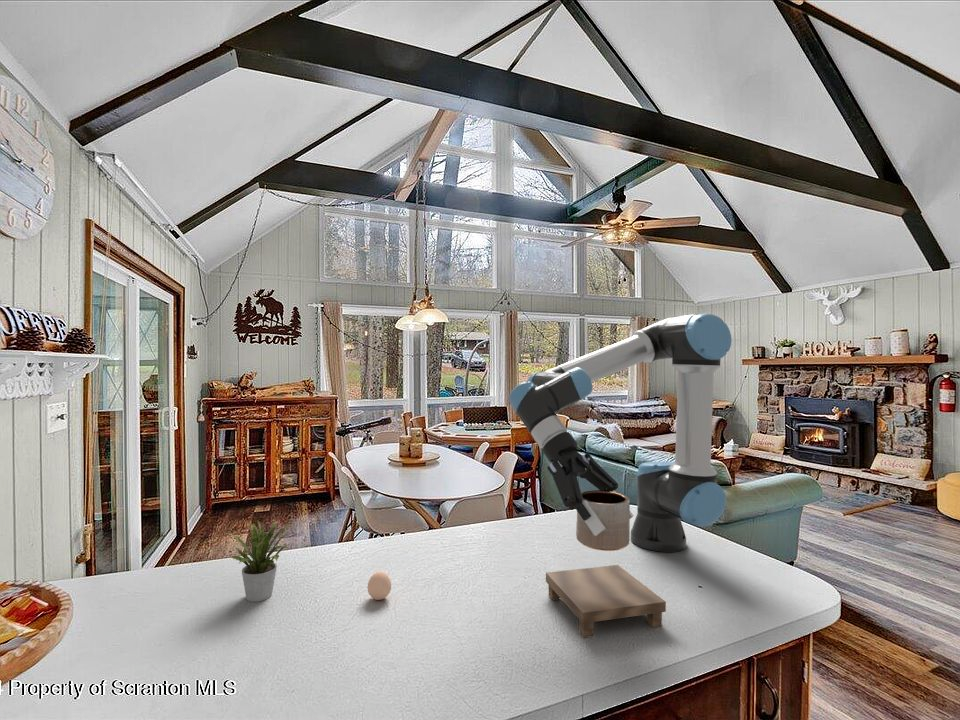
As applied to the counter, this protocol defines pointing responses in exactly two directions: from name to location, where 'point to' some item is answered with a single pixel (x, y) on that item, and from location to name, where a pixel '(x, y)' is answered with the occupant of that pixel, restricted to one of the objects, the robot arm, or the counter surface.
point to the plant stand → (604, 596)
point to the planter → (606, 521)
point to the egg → (379, 585)
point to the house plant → (259, 563)
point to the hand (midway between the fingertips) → (615, 525)
